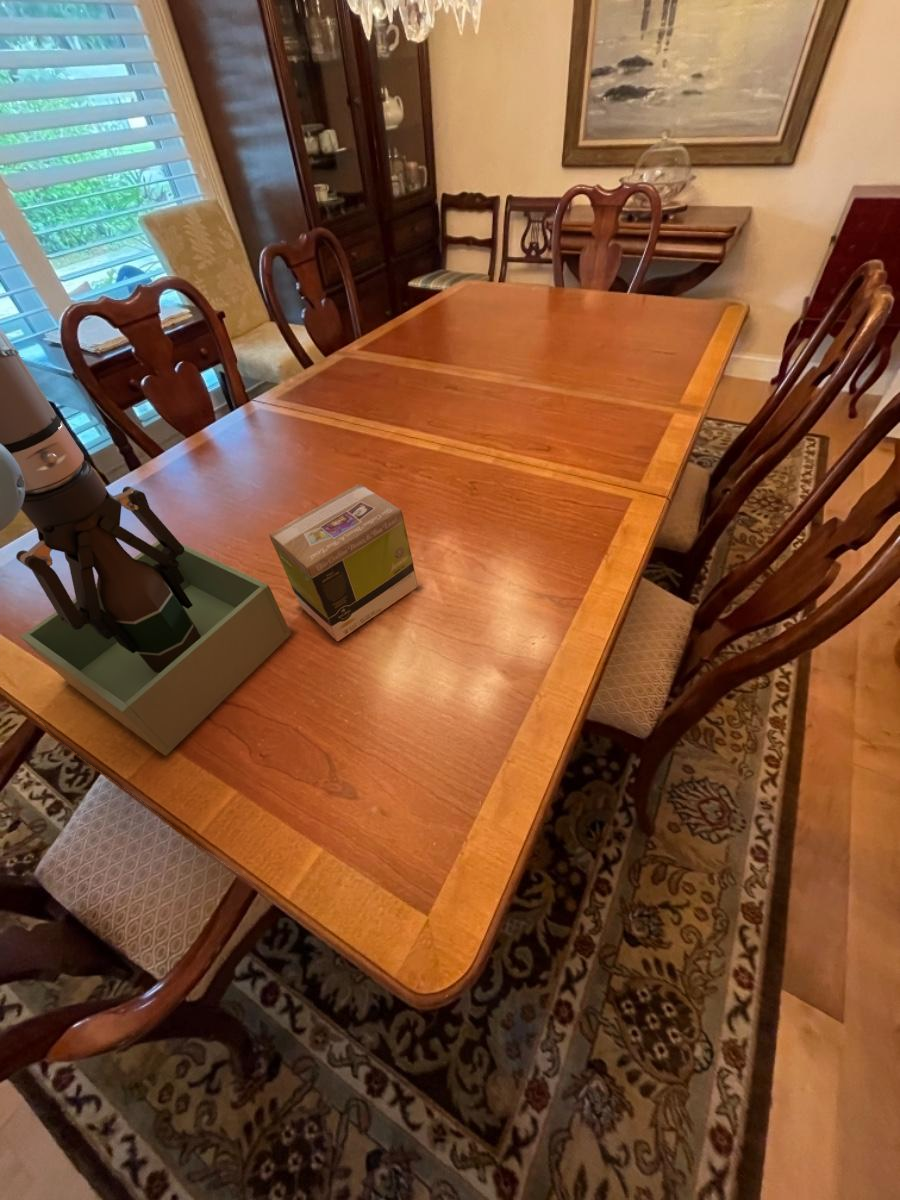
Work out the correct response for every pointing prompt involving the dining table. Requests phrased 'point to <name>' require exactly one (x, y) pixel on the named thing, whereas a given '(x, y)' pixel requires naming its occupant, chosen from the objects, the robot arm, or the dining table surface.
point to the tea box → (347, 559)
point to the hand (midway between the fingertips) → (157, 624)
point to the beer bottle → (139, 600)
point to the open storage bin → (192, 681)
